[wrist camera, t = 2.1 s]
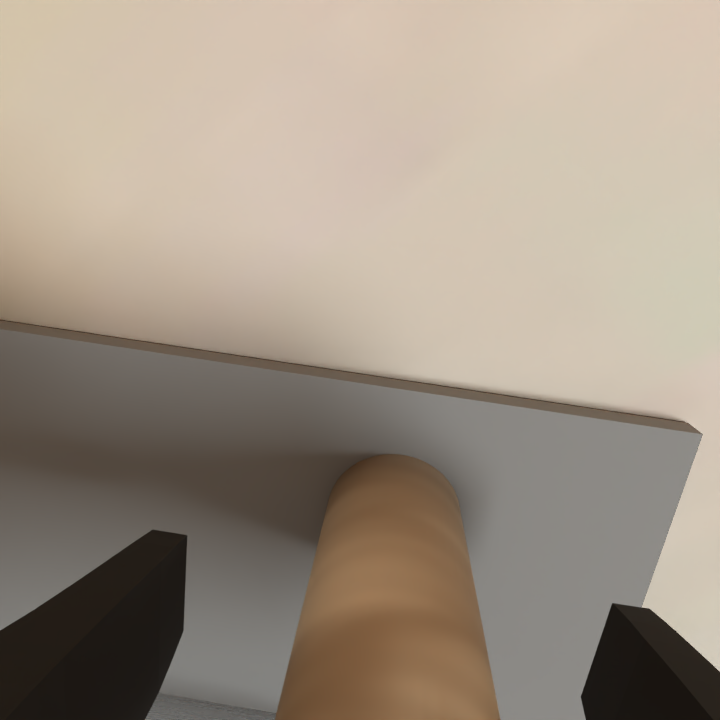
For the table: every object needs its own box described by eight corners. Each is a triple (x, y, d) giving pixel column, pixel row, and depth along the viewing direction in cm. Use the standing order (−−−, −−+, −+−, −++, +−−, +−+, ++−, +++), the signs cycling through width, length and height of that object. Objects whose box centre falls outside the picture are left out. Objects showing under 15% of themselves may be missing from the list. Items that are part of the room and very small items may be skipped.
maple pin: (472, 465, 11) (685, 1259, 3) (447, 579, 12) (553, 1449, 4) (335, 444, 12) (143, 1150, 3) (321, 558, 12) (139, 1359, 4)
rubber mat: (687, 423, 11) (703, 434, 11) (497, 977, 17) (500, 1004, 17) (-273, 279, 12) (-306, 283, 12) (-144, 858, 18) (-161, 880, 17)
